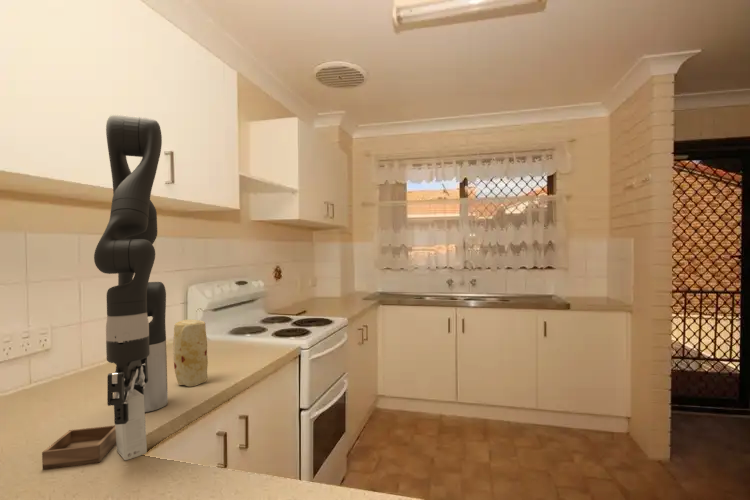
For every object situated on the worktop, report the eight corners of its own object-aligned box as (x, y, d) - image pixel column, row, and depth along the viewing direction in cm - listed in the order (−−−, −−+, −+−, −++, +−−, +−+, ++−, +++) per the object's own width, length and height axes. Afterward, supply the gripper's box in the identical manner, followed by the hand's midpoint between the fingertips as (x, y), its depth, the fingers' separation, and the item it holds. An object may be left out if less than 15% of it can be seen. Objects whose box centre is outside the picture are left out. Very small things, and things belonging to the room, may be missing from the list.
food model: (209, 379, 127) (208, 317, 127) (206, 386, 121) (204, 320, 121) (176, 382, 125) (175, 319, 125) (171, 389, 119) (169, 323, 119)
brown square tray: (69, 445, 85) (69, 430, 85) (119, 439, 87) (119, 424, 87) (42, 469, 76) (42, 452, 76) (98, 462, 78) (98, 445, 78)
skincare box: (148, 453, 81) (146, 394, 81) (122, 462, 78) (121, 400, 78) (138, 443, 85) (136, 387, 85) (114, 451, 82) (112, 393, 82)
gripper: (122, 331, 88) (123, 404, 87) (90, 344, 74) (92, 432, 74) (159, 328, 89) (161, 400, 89) (135, 341, 75) (137, 427, 75)
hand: (130, 414), depth 81 cm, fingers open, 8 cm apart
